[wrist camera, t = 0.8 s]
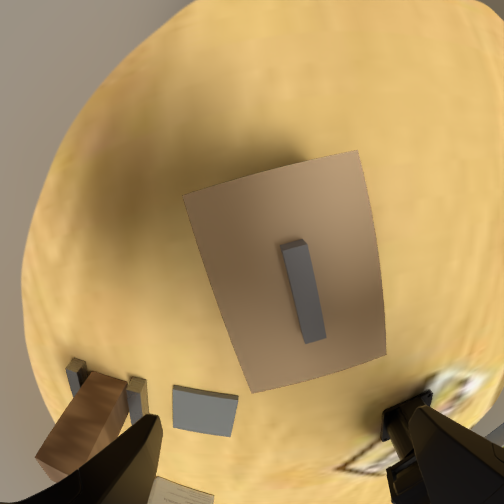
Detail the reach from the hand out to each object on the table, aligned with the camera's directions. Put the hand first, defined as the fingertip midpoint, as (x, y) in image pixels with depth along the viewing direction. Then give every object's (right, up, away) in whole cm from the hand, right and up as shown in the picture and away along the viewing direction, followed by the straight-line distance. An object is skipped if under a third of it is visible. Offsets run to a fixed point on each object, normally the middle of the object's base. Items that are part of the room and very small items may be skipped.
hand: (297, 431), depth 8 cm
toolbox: (+1, +6, +12) cm, 14 cm away
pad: (-6, -10, +16) cm, 20 cm away
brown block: (-16, -8, +16) cm, 24 cm away
